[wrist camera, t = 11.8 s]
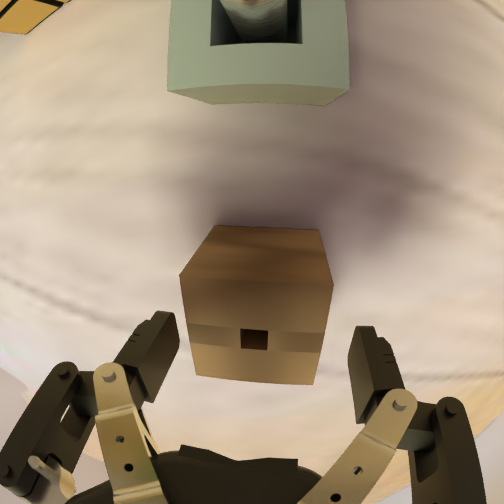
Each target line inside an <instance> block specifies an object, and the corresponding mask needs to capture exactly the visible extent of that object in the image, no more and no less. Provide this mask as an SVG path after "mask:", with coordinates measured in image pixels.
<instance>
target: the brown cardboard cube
mask: <svg viewBox="0 0 504 504" xmlns="http://www.w3.org/2000/svg"><path fill="white" fill-rule="evenodd" d="M179 277H180V285H181V292H182V298H183V305H184V311H185V317H186V323H187V329H188V335H189V341H190V346H191V351H192V357H193V362H194V367H195V371H196V375H199V376H206V377H213V378H221V379H229V380H238V381H248V382H260V383H274V384H293V385H313V382H314V378H315V374H316V370H317V366H318V362H319V357H320V353H321V348H322V344H323V339H324V334H325V329H326V324H327V319H328V314H329V309H330V303H331V298H332V292H333V286H334V284H333V280H332V276H331V273H330V269H329V265H328V262H327V258H326V254H325V251H324V247H323V244H322V240H321V237H320V233H319V230H304V229H285V228H263V227H239V226H214V227H213V229H212V230H211V231H210V233H209V234H208V236H207V237H206V238H205V240H204V241H203V242H202V244H201V245H200V247H199V248H198V249H197V251H196V252H195V254H194V255H193V257H192V258H191V259H190V261H189V262H188V264H187V265H186V266H185V268H184V269H183V271H182V272H181V274H180V275H179Z"/></svg>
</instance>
